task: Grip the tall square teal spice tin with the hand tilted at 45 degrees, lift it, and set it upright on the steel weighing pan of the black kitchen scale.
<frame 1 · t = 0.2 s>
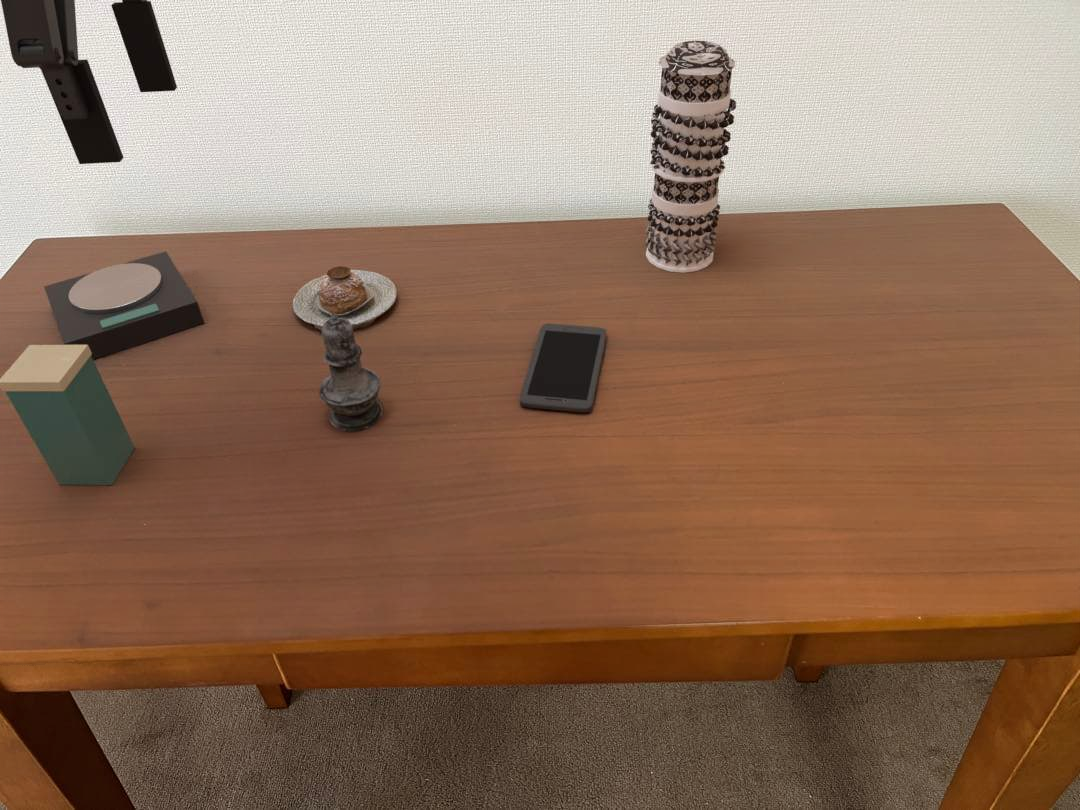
hand: (133, 123, 61), 30 cm above the table, tool pointing down, fingers open, 13 cm apart
scale: (128, 315, 96), on the table
pastry: (347, 306, 97), on the table
decorative candle: (679, 256, 103), on the table
dark grey piece: (356, 415, 81), on the table
spice tin: (97, 465, 77), on the table
cell phone: (565, 369, 86), on the table
scale pan: (116, 287, 95), point 3 cm above the table, slide at -0.1 cm, touching scale
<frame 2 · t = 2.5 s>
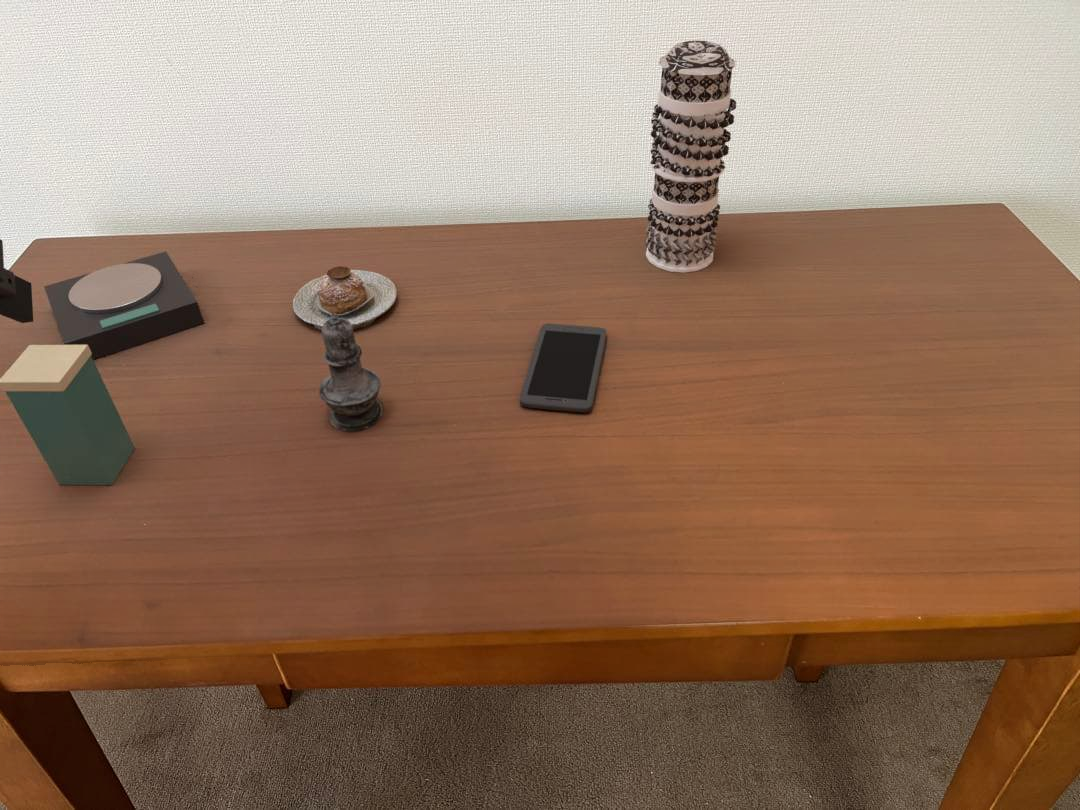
scale pan: (116, 287, 95), point 3 cm above the table, slide at -0.1 cm
everything else where it was.
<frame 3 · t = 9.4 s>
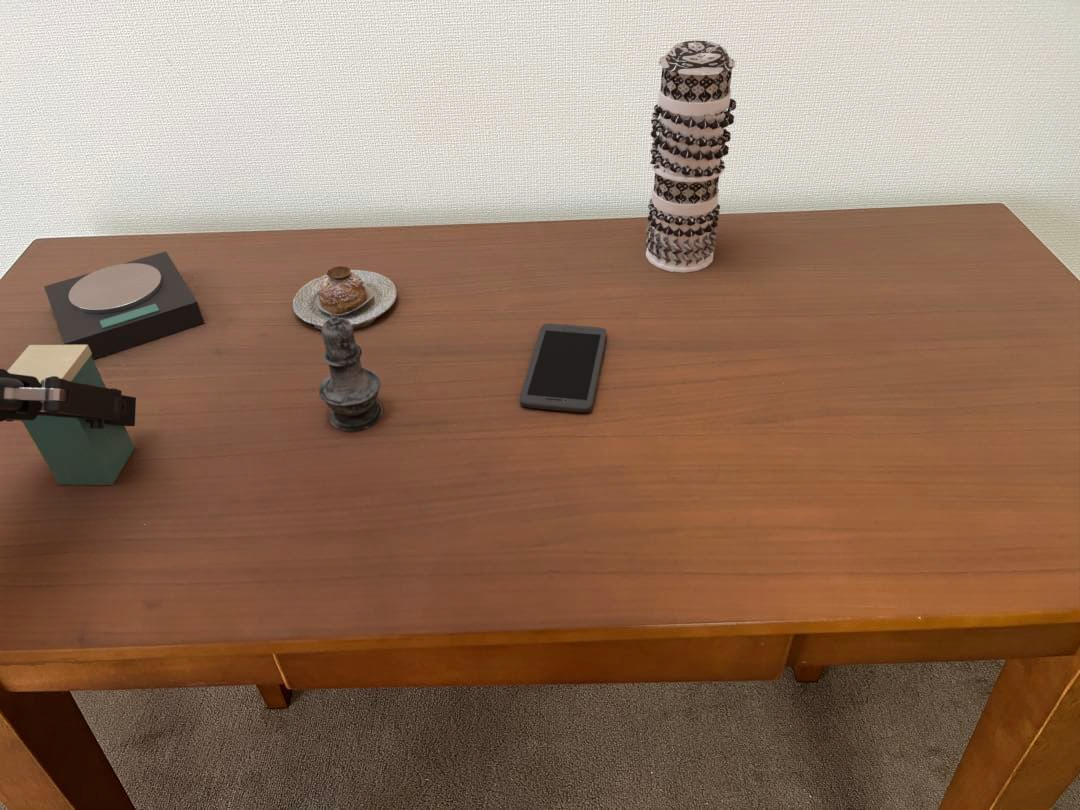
hand: (101, 411, 77), 3 cm above the table, tool tilted 45°, fingers closed on spice tin, 5 cm apart
spice tin: (97, 465, 77), on the table, touching gripper
scale pan: (116, 287, 95), point 3 cm above the table, slide at -0.1 cm, touching scale
everything else where it was.
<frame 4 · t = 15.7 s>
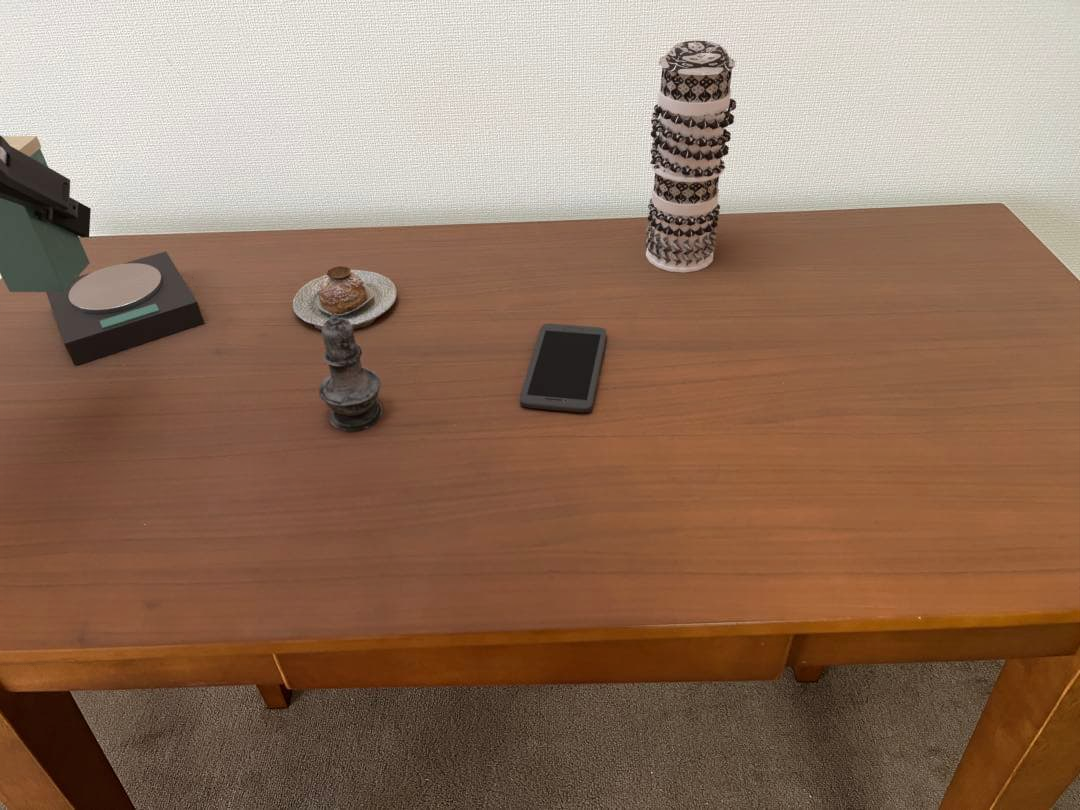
hand: (55, 222, 75), 18 cm above the table, tool tilted 45°, fingers closed on spice tin, 5 cm apart
spice tin: (50, 277, 74), point 15 cm above the table, touching gripper
everything else where it was.
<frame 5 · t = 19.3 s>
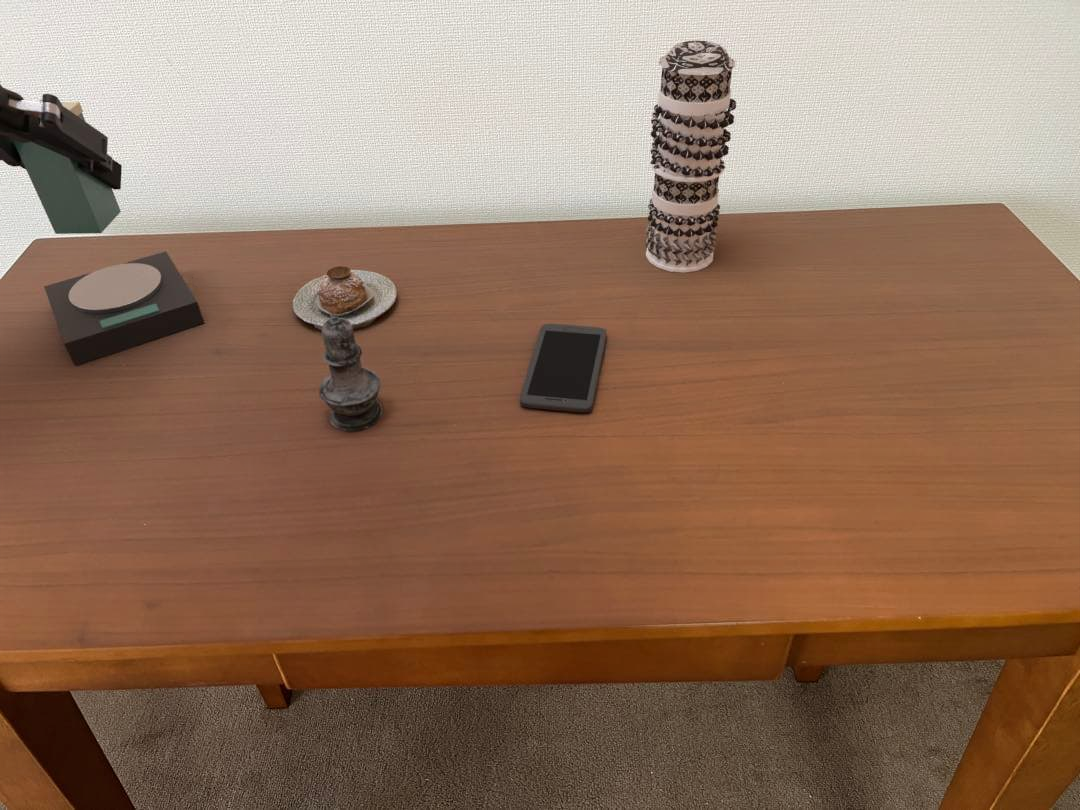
hand: (92, 177, 90), 15 cm above the table, tool tilted 45°, fingers closed on spice tin, 5 cm apart
spice tin: (88, 222, 89), point 12 cm above the table, touching gripper
everything else where it was.
when the fingers open (7 cm above the table, at t = 21.8 s): spice tin stays where it is, resting on scale pan.
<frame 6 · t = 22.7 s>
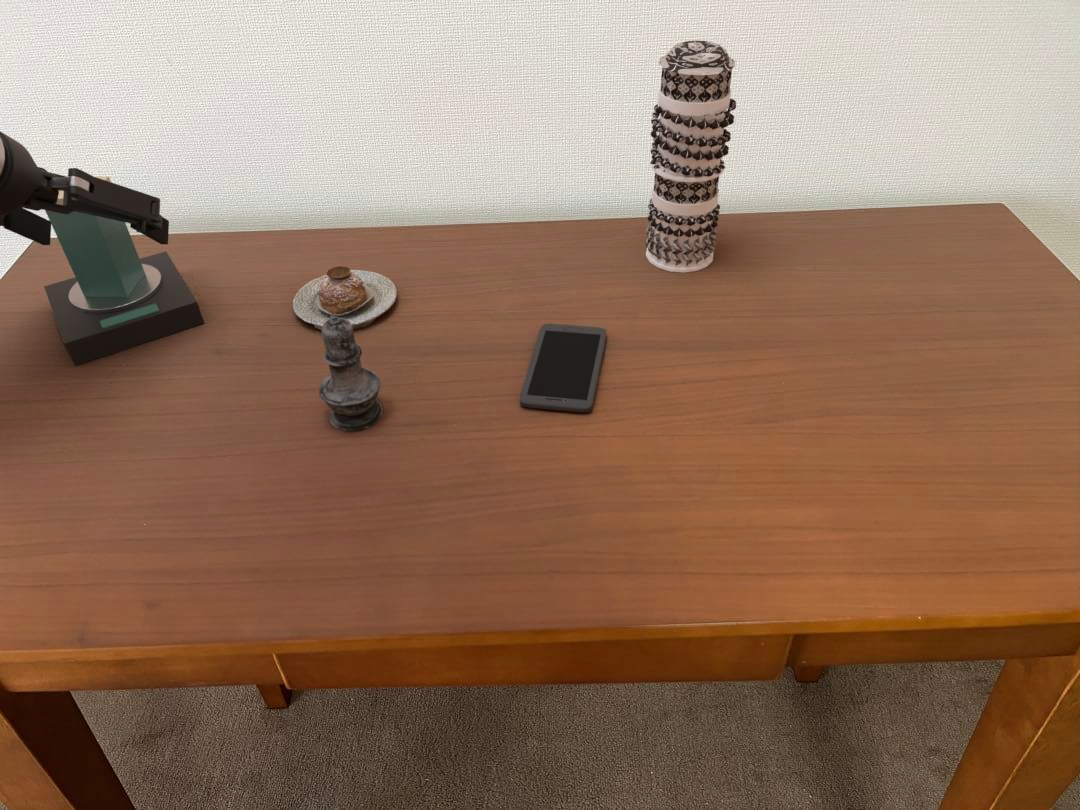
hand: (106, 233, 93), 9 cm above the table, tool tilted 45°, fingers open, 13 cm apart
spice tin: (115, 285, 94), point 4 cm above the table, touching scale pan
scale pan: (116, 287, 95), point 3 cm above the table, slide at -0.1 cm, touching scale, spice tin
everything else where it was.
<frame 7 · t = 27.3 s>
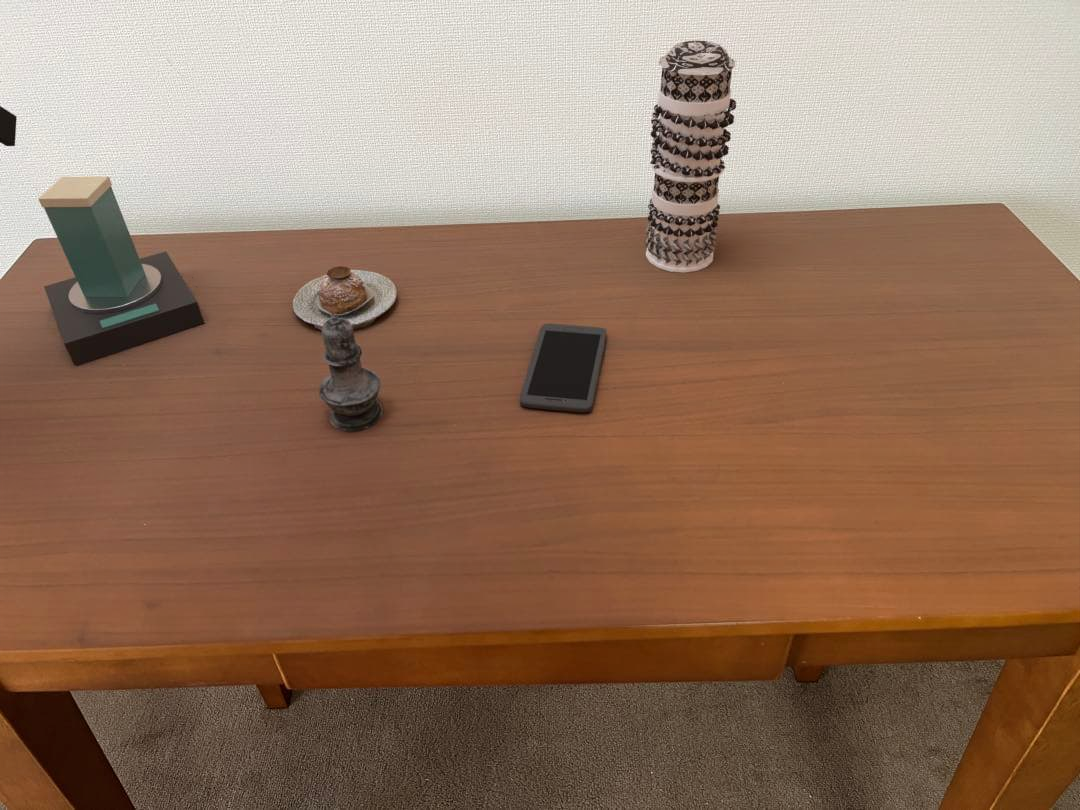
nothing on the table moved.
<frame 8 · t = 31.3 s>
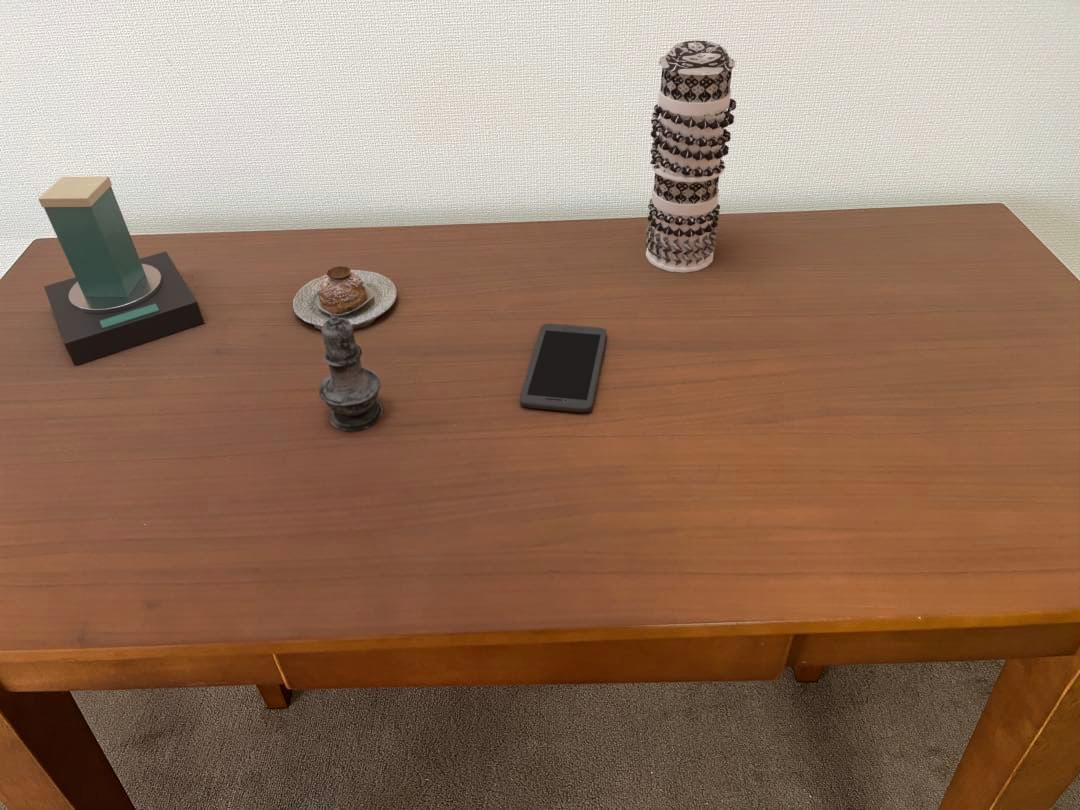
nothing on the table moved.
at the end: spice tin inside the target area on the scale (0.1 cm from its centre), point 3.6 cm above the scale's base; spice tin tilted 0°; the gripper is holding nothing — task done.
